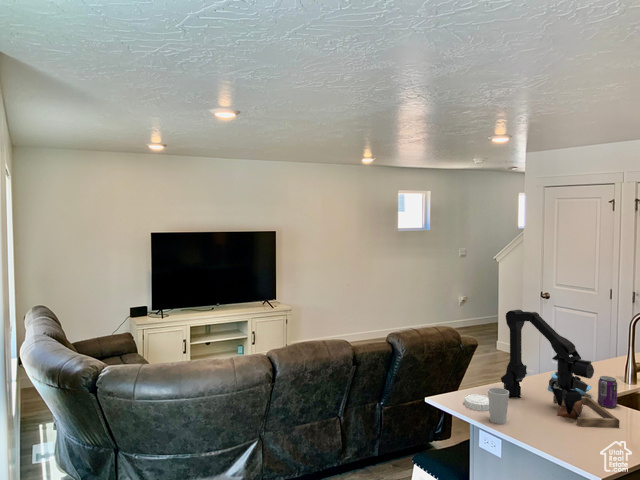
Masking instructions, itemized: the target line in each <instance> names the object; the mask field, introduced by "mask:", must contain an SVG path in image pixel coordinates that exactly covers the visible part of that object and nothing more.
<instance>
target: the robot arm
mask: <svg viewBox="0 0 640 480" xmlns="http://www.w3.org/2000/svg"><path fill="white" fill-rule="evenodd" d="M505 320H506V325H507V327H508V328H509V362H508V363H507V366H506V371H505V374H504V375H502V376H501V377H500V382H501V383H502V384H503V389H506V390H508V391H509V398H511V399H512V398H513V399H514V398H515V399H521V398H522V397H521V396H522V394H521V393H522V386H521V385H520V384H521V383H522V382H523V380H524V379H525V378H526V375H528V372H527V367H528V366H527V365H525V364H524V363H523V360H522V329H523V327H524V325H525V322H529V323H530V324H531V325H532V326H533V327H534V328H535V329H536V330H538V332H539V333H540V334H541V335H542V336H543V337H545V339H546V340H547V341H548V342H549V343H550V346H551V348H552V349H553V350H554V353H555V356H553V357H552V360H553V361H554V360H555V361H557V367H556V368H557V369H556V370H557V371H556V372H557V373H556V376H557V379H551V378H550V379H549V380H548V386H549V385H550V386H551V387H550V388H551V390H552V394H553V396H555V398H556V401H557V403H558V404H557V405H558V406H559V407H560V406H561V405H562V399H563V401H564V404H565V408H566V411H567V413H568V414H571V412H572V409H573V406H574V404H575V403H576V402H577V401H580V400H582V397H583V395H581V394H580V393H579V392H578V391H577V390H576V388H577V389H580V390H582V391H583V392H586V389H587V387H588V385H589V384H587V383H586V382H585V381H583V380H582V379H581V377H582V378H584V379H589V380H590V379H592V378H593V376H594V373H595V368H594V366H593V364H592V361H591V360H584V359H582V357H581V355H580V354H579V352H578V350H577V349H576V345H575V344H574V343H573V342H572V341H571V340H569V339H568V338H566V337H563V336H562V335H560V334H559V333H558V332H557V331H555V329H554V328H553V327H552V326H550V325H549V323H547V322H546V320H544V318H543V317H541V316H540V314H539V313H538V312H537V311H523V310H522V309H514V310H509V311H507V312H506V313H505ZM571 389H575V390H571ZM586 393H587V392H586Z"/></svg>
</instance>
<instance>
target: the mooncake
mask: <svg viewBox="0 0 640 480" xmlns="http://www.w3.org/2000/svg"><path fill="white" fill-rule="evenodd" d="M463 403H464V404H463V405H464V406H465V408H467V409H469V410H473V411H477V412H489V397H488V395H484V394H474V393H472V394H469V395H465V397H464V398H463Z"/></svg>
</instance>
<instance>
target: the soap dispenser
mask: <svg viewBox="0 0 640 480" xmlns="http://www.w3.org/2000/svg"><path fill="white" fill-rule="evenodd" d="M556 373H557V371H554V373H552V374H551V378H550V379H557V376H556ZM587 385H588V387H587V389H586V392H583V391H582V390H580V389H577V388H576V390H577V391H578V392H579V393H580V394H581V395H582V396H583V395H585V394H587V393H588V392H589V391H590V390H591V389H592V386H591V385H590V384H587ZM550 387H551V386H550V385H549V384H548V385H547V388H548V389H547V390H548V391H549V392H552V390H551V388H550ZM571 390H575V389H571ZM552 393H553V392H552Z"/></svg>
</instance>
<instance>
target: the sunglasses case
mask: <svg viewBox="0 0 640 480" xmlns="http://www.w3.org/2000/svg"><path fill="white" fill-rule="evenodd" d="M582 408H583V405H582V401H581V400H580V401H577V402H576V403H575V404H574V406H573V409H572V412H571V414H568V413H567V411H566V408H565V404H564V402H562V405H561V406H559V409H558V411H557V413H556V416H557V417H562V418H566V419H569V420H570V419H571V420H575V421H577V417H580V415H581V412H582Z"/></svg>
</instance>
